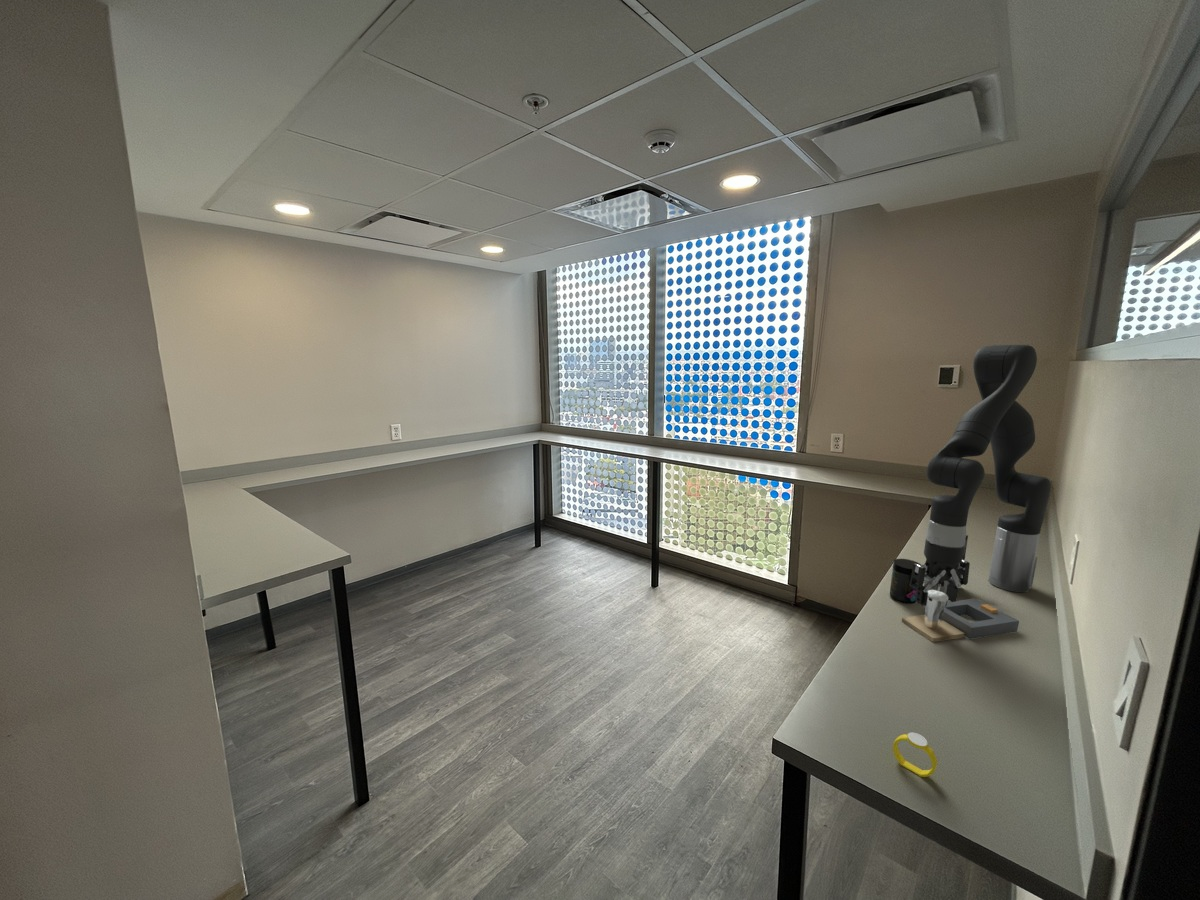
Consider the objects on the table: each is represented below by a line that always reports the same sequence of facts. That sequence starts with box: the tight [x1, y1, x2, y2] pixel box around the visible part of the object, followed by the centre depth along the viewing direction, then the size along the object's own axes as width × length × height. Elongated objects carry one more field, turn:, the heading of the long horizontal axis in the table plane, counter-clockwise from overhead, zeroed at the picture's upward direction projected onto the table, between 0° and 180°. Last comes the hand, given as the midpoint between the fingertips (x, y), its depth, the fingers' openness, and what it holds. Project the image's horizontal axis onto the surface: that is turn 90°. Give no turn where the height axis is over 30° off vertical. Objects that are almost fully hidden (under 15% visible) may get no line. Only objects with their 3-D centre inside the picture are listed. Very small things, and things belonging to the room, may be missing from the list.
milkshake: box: [924, 584, 949, 630], centre depth 117 cm, size 4×5×10 cm
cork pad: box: [901, 614, 965, 643], centre depth 118 cm, size 9×9×1 cm
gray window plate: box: [942, 598, 1020, 640], centre depth 120 cm, size 14×11×4 cm
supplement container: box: [889, 558, 922, 605], centre depth 132 cm, size 7×7×10 cm
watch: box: [892, 731, 938, 778], centre depth 78 cm, size 6×3×6 cm, turn 40°
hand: (935, 602), depth 117 cm, fingers open, 8 cm apart
